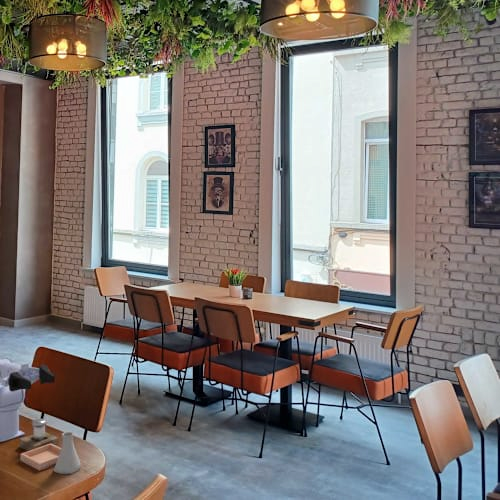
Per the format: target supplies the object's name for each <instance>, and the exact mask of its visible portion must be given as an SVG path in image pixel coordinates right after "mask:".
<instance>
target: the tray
mask: <svg viewBox="0 0 500 500" xmlns="http://www.w3.org/2000/svg"><path fill="white" fill-rule="evenodd" d="M61 448H62V447H60V446H56V445H53V444H51V443H50V444H47V445H45V446H42V447H39V448H36V449H33V450H30V451H27V450H26V451H25V452H22V453H20V461H21V462H23V463H24V464H26V465H28V466H30V467H31V468H34V469H35V470H37V471H40V472H41V471H43V470H46V469H48V468H52V467H55V465H56V463H57V460H58V457H59V454H60V451H61Z"/></svg>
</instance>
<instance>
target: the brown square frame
mask: <svg viewBox="0 0 500 500" xmlns="http://www.w3.org/2000/svg"><path fill="white" fill-rule="evenodd" d="M59 441H60V439H59V437H58V436H56V435H53V434H51V433H48V432H46V431H45V440H42V441H39V442H36V441H34V433H33V434H31V435H28V436H24V437H21V438H19V448H20V449H23V450H24V451H26V452H27V451H30V450H33V449H36V448H39V447H42V446H45V445H47V444H50V443H51V444H53V445H56V446H58V447H60V442H59Z"/></svg>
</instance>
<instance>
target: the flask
mask: <svg viewBox="0 0 500 500" xmlns="http://www.w3.org/2000/svg"><path fill="white" fill-rule="evenodd" d="M74 434H75V432H72V431H65V432H63V433H61V438H62V443H61V447H60V448H61V451H60V454H59V457H58V460H57V463H56V465H54V469H53V472H54V473H58V474H61V475H63V474H68V475H69V474H70V475H71V474H74V473H76V472H77V471H80V470H81V468H82V467H81V466H82V463H81V461H80V458H79V456H78V453H77V450H76V448H75V445H74V440H73V439H74Z"/></svg>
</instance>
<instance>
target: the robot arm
mask: <svg viewBox="0 0 500 500" xmlns="http://www.w3.org/2000/svg"><path fill="white" fill-rule="evenodd" d="M0 380H1V384H0V442H1V443H2V442H6V441H9V440H11V439H15V438H18V437H21V436H25V434H26V433H25V432H23V431H22V430H19V429H20V423H19V422H20V412H19V411H20V407H21V406H22V403H23V402H24V401H25V397H26V392H25V391H26V390H31V389H32V384H34V383H36V382H37V381H39V380H40V385H44V384H54V383H55V381H56V378H55V375H54V374H53V373H52V372H51V371H50V369H49V367H48V365H45V364H43V365H39V367H38V368H37V367H33V366H32V367H31V366H29V363H27V362H26V363H25V362H24V363H22V364H18V363H14V362H13V360H12V359H11V358H9V357H6V358H4V359H0Z"/></svg>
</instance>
